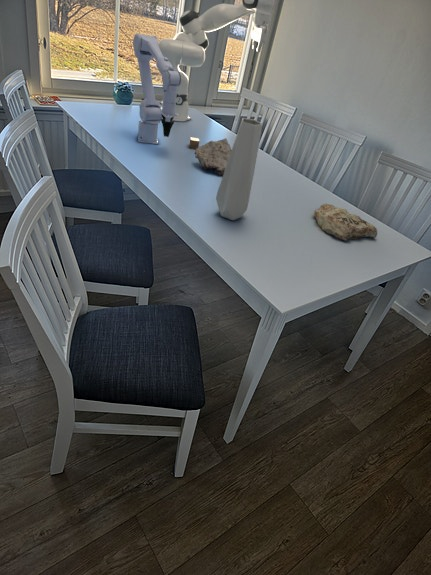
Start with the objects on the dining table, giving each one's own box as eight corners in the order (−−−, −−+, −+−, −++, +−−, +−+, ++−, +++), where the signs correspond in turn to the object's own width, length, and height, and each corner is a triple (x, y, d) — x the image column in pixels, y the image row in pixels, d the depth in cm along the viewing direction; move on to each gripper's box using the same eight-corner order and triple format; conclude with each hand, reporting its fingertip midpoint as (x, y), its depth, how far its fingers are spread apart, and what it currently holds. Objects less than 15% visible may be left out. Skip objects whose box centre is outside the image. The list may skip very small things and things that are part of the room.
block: (198, 149, 188) (199, 141, 185) (189, 148, 187) (190, 139, 184) (197, 146, 191) (198, 138, 188) (189, 145, 190) (190, 137, 188)
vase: (253, 221, 137) (278, 128, 117) (226, 224, 131) (248, 127, 111) (236, 206, 144) (257, 116, 124) (210, 208, 139) (227, 114, 119)
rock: (234, 142, 173) (214, 126, 161) (245, 170, 166) (225, 155, 155) (210, 161, 180) (189, 148, 168) (219, 189, 174) (199, 176, 162)
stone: (347, 232, 131) (303, 198, 147) (341, 246, 135) (298, 211, 150) (382, 227, 141) (337, 195, 156) (375, 240, 144) (331, 207, 160)
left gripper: (178, 107, 158) (175, 140, 166) (178, 99, 169) (174, 130, 177) (161, 104, 157) (159, 137, 165) (162, 96, 168) (159, 127, 176)
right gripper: (273, 24, 196) (266, 54, 205) (262, 20, 212) (256, 48, 220) (261, 21, 195) (255, 52, 203) (252, 18, 210) (246, 46, 218)
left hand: (166, 133), depth 171 cm, fingers open, 7 cm apart
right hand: (256, 50), depth 212 cm, fingers open, 8 cm apart
